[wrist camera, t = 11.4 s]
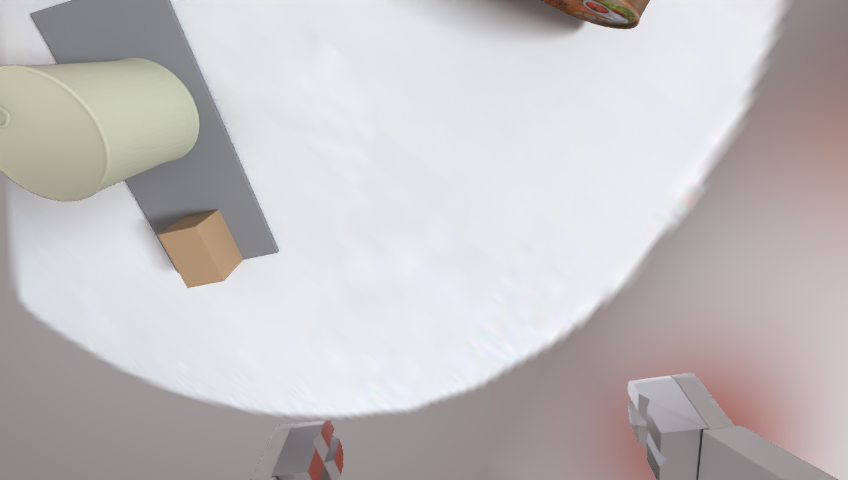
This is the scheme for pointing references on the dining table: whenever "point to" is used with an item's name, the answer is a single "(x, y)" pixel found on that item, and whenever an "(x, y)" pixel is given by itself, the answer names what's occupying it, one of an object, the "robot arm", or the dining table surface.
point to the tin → (604, 11)
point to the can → (91, 124)
